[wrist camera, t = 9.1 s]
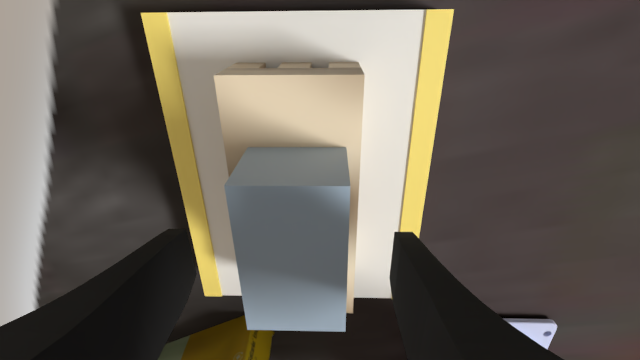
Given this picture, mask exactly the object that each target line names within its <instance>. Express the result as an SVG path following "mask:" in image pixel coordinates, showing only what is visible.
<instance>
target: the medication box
mask: <svg viewBox="0 0 640 360" xmlns="http://www.w3.org/2000/svg"><path fill="white" fill-rule="evenodd" d="M274 333H275V332H273V331H272V330H247V324H246V318H245V315H244V316H241V317H238V318H235V319H233V320H230V321H227V322H224V323H222V324H219V325H216V326H213V327H211V328H208V329H205V330H203V331H200V332H197V333H194V334H192V335H189V336H186V337H183V338H181V339H178V340H175V341H173V342H170V343H167V344H165V346H164V348H163V350H162V352H161V354H160V356H159V358H158V360H270V353H271V344H272V336H273V335H274Z"/></svg>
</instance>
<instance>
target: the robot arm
mask: <svg viewBox="0 0 640 360" xmlns="http://www.w3.org/2000/svg"><path fill="white" fill-rule="evenodd" d="M195 277H196V271H195V266H194V262H193V258H192V253H191V249H190V245H189V240H188V236H187V232H186V229H168V230H166V231H164V232H163V233H161V234H160V235H158V236H156V237H155V238H153V239H152V240H150V241H149V242H147V243H146V244H144V245H143V246H142V247H140V248H139V249H137V250H136V251H134V252H133V253H131V254H130V255H128V256H127V257H125V258H124V259H122V260H121V261H119V262H118V263H116V264H115V265H113V266H112V267H110V268H108V269H107V270H105V271H104V272H102V273H100V274H99V275H97V276H95V277H94V278H92V279H91V280H89V281H87V282H86V283H84V284H83V285H81V286H79V287H77V288H76V289H74V290H72V291H70V292H69V293H67V294H65V295H63V296H61V297H60V298H58V299H56V300H54V301H52V302H50V303H48V304H46V305H45V306H43V307H41V308H39V309H37V310H35V311H32V312H30V313H28V314H26V315H24V316H22V317H20V318H18V319H16V320H13V321H11V322H9V323H7V324H5V325H3V326H1V327H0V360H158V358H159V356H160V354H161V352H162V350H163V348H164V346H165V344H166V342H167V340H168V338H169V336H170V334H171V332H172V330H173V328H174V326H175V324H176V323H177V321H178V319H179V317H180V315H181V313H182V311H183V309H184V307H185V304H186V302H187V300H188V297H189V295H190V292H191V289H192V286H193V283H194V280H195ZM389 278H390V286H391V293H392V300H393V306H394V310H395V314H396V318H397V322H398V325H399V329H400V333H401V337H402V340H403V344H404V348H405V352H406V355H407V359H408V360H564V359H562V358H560V357H559V356H557V355H555V354H554V353H552V352H551V351H549V350H547V349H548V347H549V345H550V342H551V340H552V338H553V336H554V334H555V331H556V329H557V325H556V324H555V322H554V321H553V320H551V319H518V318H501V317H500V316H499V315H498V314H496V313H495V312H494V311H493V310H491V309H490V308H489V307H487V306H486V305H485V304H484V303H482V302H481V301H480V300H479V299H478V298H477V297H475V296H474V295H473V294H472V293H471V292H470V291H469V290H468V289H467V288H465V287H464V286H463V285H462V284H461V283H460V282H459V281H458V280H457V279H456V278H455V277H454V276H453V275H452V274H451V273H450V272H449V271H448V270H447V269H446V268H445V267H444V266H443V265H442V264H441V263H440V262H439V261H438V260H437V258H436V257H435V256H434V255H433V254H432V253H431V252H430V251H429V250H428V248H427V247H426V246H425V245H424V244H423V243H422V242H421V241H420V239H419V238H418V237H417V236H416V235H415V234H414V233H413V232H394V241H393V250H392V259H391V268H390V277H389Z"/></svg>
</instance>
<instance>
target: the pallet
mask: <svg viewBox="0 0 640 360" xmlns="http://www.w3.org/2000/svg"><path fill="white" fill-rule="evenodd" d="M364 78H365V74H364V72H363V70H362V68H361V66H360V64H359V62H329V67H328V68H312V62H282V63H281V65H280V66H279V67H278V68H266V63H235V64H233V65H232V66H230V67H228V68H226V69H224V70H222V71H221V72H219V73H217V74H215V75H214V81H215V88H216V95H217V101H218V108H219V115H220V121H221V128H222V135H223V141H224V148H225V155H226V162H227V168H228V175H229V177H230V175H231V174H232V172H233V170H234V169H235V167H236V166H237V164H238V162H239V161H240V159H241V157H242V156H243V154H244V153H245V151H246V149H247V148H248V147H346V149H347V158H348V168H349V177H350V213H349V243H348V273H347V302H346V313H353V301H354V281H355V260H356V240H357V220H358V200H359V179H360V159H361V139H362V119H363V98H364Z"/></svg>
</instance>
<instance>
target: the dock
mask: <svg viewBox="0 0 640 360" xmlns="http://www.w3.org/2000/svg"><path fill="white" fill-rule="evenodd" d="M453 12H454V9H428V10H338V11H248V12H158V13H141V17H142V21H143V26H144V30H145V35H146V39H147V43H148V48H149V52H150V57H151V61H152V65H153V70H154V74H155V79H156V83H157V87H158V92H159V96H160V101H161V105H162V109H163V114H164V118H165V123H166V127H167V131H168V136H169V140H170V145H171V149H172V153H173V158H174V162H175V167H176V171H177V175H178V180H179V184H180V189H181V193H182V197H183V202H184V206H185V211H186V215H187V219H188V224H189V228H190V233H191V237H192V241H193V246H194V250H195V255H196V259H197V263H198V268H199V272H200V277H201V281H202V285H203V290H204V294H205V296H220V297H222V295H237V296H242V293H241V287H240V281H239V275H238V268H237V262H236V256H235V250H234V244H233V237H232V231H231V225H230V219H229V212H228V206H227V200H226V194H225V188H224V185H225V183H226V182H227V180H228V179H229V175H228V168H227V162H226V155H225V148H224V141H223V135H222V128H221V121H220V115H219V108H218V101H217V95H216V88H215V81H214V75H215V74H217V73H219V72H221V71H222V70H224V69H226V68H228V67H230V66H232V65H233V64H235V63H266V68H278V67H279V66H280V65H281V63H282V62H312V68H328V67H329V62H359V64H360V66H361V68H362V70H363V72H364V74H365V78H364V98H363V119H362V139H361V159H360V179H359V200H358V220H357V240H356V260H355V281H354V298H392V293H391V286H390V278H389V277H390V268H391V259H392V250H393V241H394V232H413V233H414V234H415V235H416V236H417V237H418V238H419V234H420V227H421V221H422V214H423V208H424V201H425V195H426V188H427V182H428V175H429V169H430V162H431V156H432V149H433V142H434V136H435V129H436V123H437V116H438V110H439V103H440V97H441V90H442V84H443V77H444V71H445V64H446V58H447V51H448V45H449V38H450V32H451V25H452V19H453Z"/></svg>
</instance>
